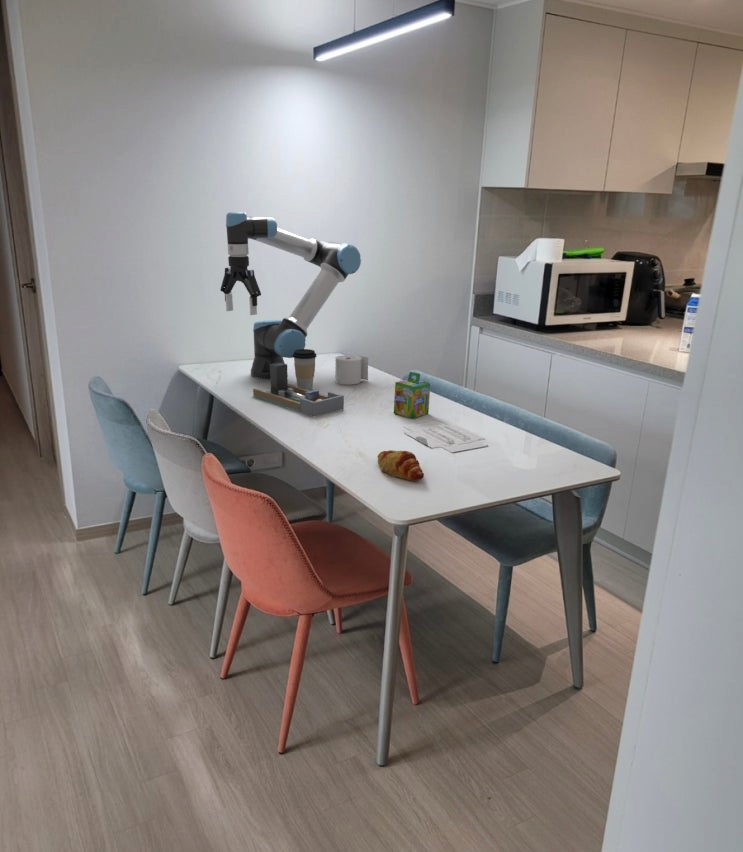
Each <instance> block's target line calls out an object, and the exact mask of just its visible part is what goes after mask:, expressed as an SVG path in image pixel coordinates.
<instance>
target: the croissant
mask: <svg viewBox="0 0 743 852" xmlns="http://www.w3.org/2000/svg"><path fill="white" fill-rule="evenodd" d="M377 463H378V464H377V465H378V467H379V468H380V469H381V472H382V473H386V474H388V475H389V476H391V477H394V478H395V477H396V478H400V479H403V480H407V481H412V482H417V481H420V480H422V479H424V475H425V473H424V472H423V469H422V467H421V466H420V462H419V460H417V456H416V455H415V453H413V452H412V451H408V450H391V449H390V450H383V451H380V452H379V454H377Z"/></svg>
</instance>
